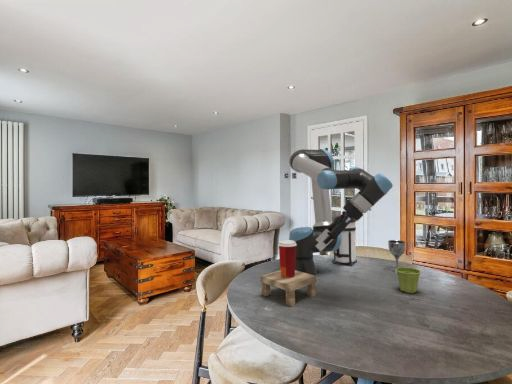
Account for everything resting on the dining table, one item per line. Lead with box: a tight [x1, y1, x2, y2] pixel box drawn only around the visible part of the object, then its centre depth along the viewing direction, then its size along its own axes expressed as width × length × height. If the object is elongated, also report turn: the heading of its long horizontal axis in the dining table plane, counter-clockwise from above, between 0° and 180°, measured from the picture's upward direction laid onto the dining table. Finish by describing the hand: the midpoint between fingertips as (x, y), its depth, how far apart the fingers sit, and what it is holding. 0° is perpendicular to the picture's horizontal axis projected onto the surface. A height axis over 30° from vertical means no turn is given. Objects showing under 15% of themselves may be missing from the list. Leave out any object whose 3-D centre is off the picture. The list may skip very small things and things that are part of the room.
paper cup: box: [277, 239, 297, 278], centre depth 117 cm, size 8×8×14 cm
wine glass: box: [387, 239, 406, 273], centre depth 149 cm, size 8×8×15 cm
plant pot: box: [395, 266, 422, 294], centre depth 120 cm, size 9×9×9 cm
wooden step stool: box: [260, 269, 317, 307], centre depth 117 cm, size 16×16×8 cm
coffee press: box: [331, 210, 358, 267], centre depth 163 cm, size 17×16×30 cm
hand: (317, 245), depth 115 cm, fingers open, 13 cm apart
